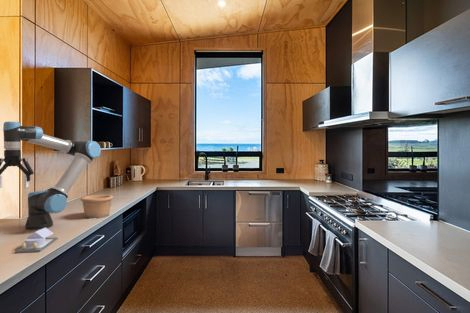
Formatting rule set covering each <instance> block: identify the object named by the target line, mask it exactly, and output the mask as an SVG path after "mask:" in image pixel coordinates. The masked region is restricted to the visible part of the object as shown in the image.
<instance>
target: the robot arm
mask: <svg viewBox="0 0 470 313" xmlns="http://www.w3.org/2000/svg"><path fill="white" fill-rule="evenodd" d="M2 131H3V149H4V150H3V156H4V157H3V158H2V157H0V189H1V188H3V176H2V174H3V172H5V170H6V169H7V168H8V167H18V168H19V169H20V171H21V172H22V173H23V174H24V188H29V186H30V181H31V175H34V174H35V171H33V169H32V167H31V165H30V164H29V162H28V158H27V157H23V158H22V157H21V155H22V151H21V149H22V146H21V141H22V142H27V143H30V144H33V145H39V146H41V147H45V148H49V149H54V150H56V151H57V150H58V151H60V152H62V153H64V154H66V155H70V156H74V159H73V160H72V161H71V162H70V164H69V165H68V167H67V168H66V170H65V171H64V172H63V174H62V175H61V177H60V178H59V180H58V181H57V183H56V184H55V185H54V187H53V186H52V187H50V188H49V189H46V190H38V191H37V190H36V191H30V192H28V193H27V209H28V210H27V212H28V213H27V218H26V222H25V225H24V227H25V230H31V231H32V230H41V229H43V228H45V227H46V228H47V229H48V228H51V227H53V226H54V220H53V218H52V216H51V214H58V213H61V212H62V211H64V210H65V209H66V207H67V206H68V198H69V191H70V190H71V188H72V187H73V185H75V183H76V181H77V180H78V178H79V177H80V175H81V174H82V172H83V170H85V168H86V166H87V165H88V164H91V163H92V161H93V160H94V159H97V158H98V157H100V155H101V153H102V149H101V146H100V144H99V143H98V142H97V141H94V140H79V141H78V140H77V141H76V140H71V139H62V138H59V137H55V136H52V135H48V134H44V131H43V128H42V127H40V126H33V125H31V126H29V125H26V126H25V125H21V123H20V122H19V121H5V122H4V123H3V128H2ZM3 162H4V164H3ZM21 162H22V163H23V164H22V163H21ZM2 164H3V165H2Z"/></svg>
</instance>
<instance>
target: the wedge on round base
mask: <svg viewBox="0 0 470 313" xmlns="http://www.w3.org/2000/svg"><path fill="white" fill-rule="evenodd" d="M53 234H55V233H54V232H52V231H51V230H50V229H48V228H46V227H45V228H43V229H37V231H34V232H33V233H31V235H29V236H28V237H26V238H24V243H25V244H26V247H27V248H33V243H37V247H39V246H42V245H45V244H46V237H47V238H49V237H50V236H52V235H53Z"/></svg>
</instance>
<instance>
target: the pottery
mask: <svg viewBox="0 0 470 313" xmlns="http://www.w3.org/2000/svg"><path fill="white" fill-rule="evenodd" d="M113 199H114V196H113V195H112V194H90V195H85V196H82V197H80V201H81V202H82V208H83V212H84V218H86V219H89V218H96V219H102V218H107V217H109V216H110V213H111V207H112V206H111V205H112V200H113Z"/></svg>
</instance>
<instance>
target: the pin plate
mask: <svg viewBox="0 0 470 313" xmlns="http://www.w3.org/2000/svg"><path fill="white" fill-rule="evenodd" d="M57 240H59V239H58V237H57V236H56V237H54V236H53V237H46V244H45V245H42V246H39V247H37V243H33V248H27V247H26V244H25V242H24V243H23V242H22V243H21V247H20V248H18V249H16V250H15V251H14V252H15V253H14V254H24V253H26V254H28V253H29V254H30V253H40V252H43V250H45V249H46V248H47V247H49V246H50V245H51V244H53V243H54V242H55V241H57Z"/></svg>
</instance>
